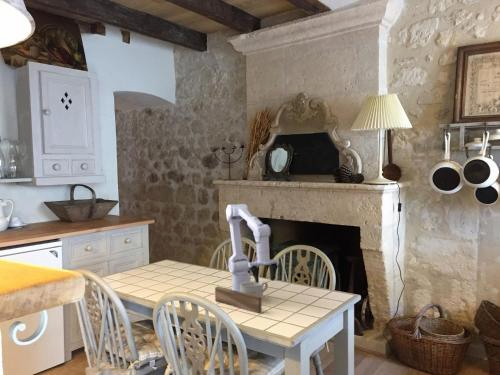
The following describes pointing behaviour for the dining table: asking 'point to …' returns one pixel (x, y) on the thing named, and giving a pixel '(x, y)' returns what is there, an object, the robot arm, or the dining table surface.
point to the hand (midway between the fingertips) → (264, 281)
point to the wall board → (238, 299)
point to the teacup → (253, 288)
